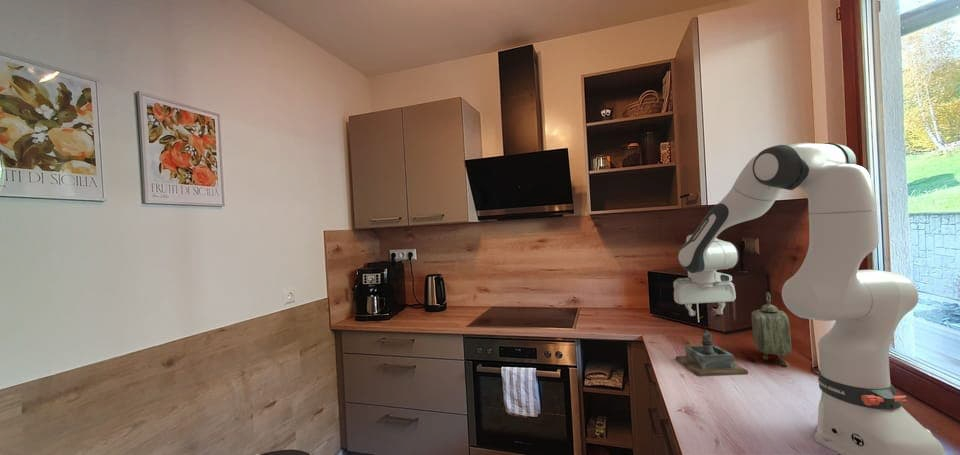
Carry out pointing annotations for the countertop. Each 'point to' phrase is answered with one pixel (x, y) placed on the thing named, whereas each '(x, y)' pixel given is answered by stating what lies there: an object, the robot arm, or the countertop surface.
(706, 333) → the grey chess piece
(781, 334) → the green tall textured piece
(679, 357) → the socket caddy
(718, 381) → the countertop surface
